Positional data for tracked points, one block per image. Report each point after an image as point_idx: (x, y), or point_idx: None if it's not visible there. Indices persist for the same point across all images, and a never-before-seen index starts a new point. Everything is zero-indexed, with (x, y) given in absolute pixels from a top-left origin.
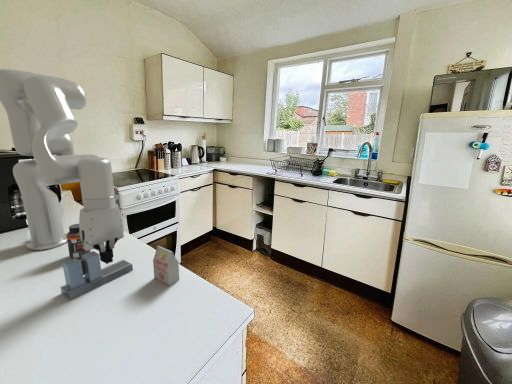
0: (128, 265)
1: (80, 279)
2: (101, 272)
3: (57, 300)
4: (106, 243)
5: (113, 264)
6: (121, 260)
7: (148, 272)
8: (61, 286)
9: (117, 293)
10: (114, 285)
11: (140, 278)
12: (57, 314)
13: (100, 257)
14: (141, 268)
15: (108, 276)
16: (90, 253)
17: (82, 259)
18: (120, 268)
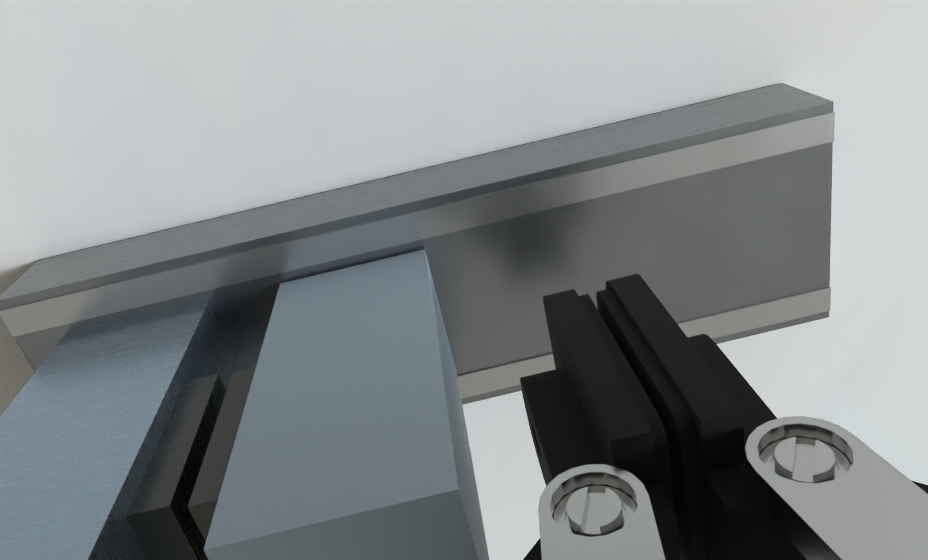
0: (784, 319)
1: None
2: (477, 274)
3: (11, 361)
4: (802, 545)
5: (671, 159)
6: (804, 107)
7: (852, 418)
8: (5, 300)
9: (497, 554)
10: (520, 436)
11: None
12: None
13: (532, 420)
14: (861, 303)
15: (515, 383)
16: (381, 551)
17: (227, 484)
18: (684, 327)
